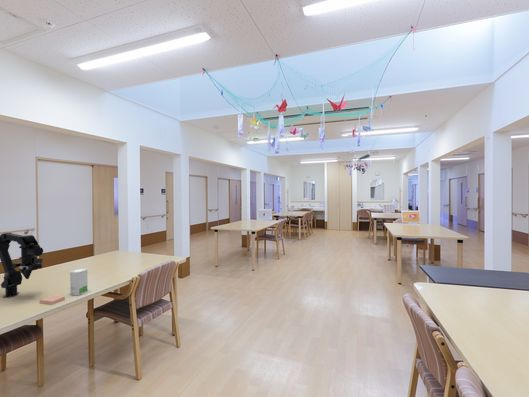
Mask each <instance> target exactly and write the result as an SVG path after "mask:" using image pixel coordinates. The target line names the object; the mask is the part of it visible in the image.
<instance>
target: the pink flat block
mask: <svg viewBox="0 0 529 397" xmlns="http://www.w3.org/2000/svg"><path fill="white" fill-rule="evenodd" d="M62 301H66V297H65V296H64V295H62V296H61V295H56V294H51V295H50V296H46V297H44V298H41V299H39V304H43V305H50V306H53V305H56V304H58V303H61V302H62Z"/></svg>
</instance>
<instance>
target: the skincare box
mask: <svg viewBox="0 0 529 397" xmlns="http://www.w3.org/2000/svg"><path fill="white" fill-rule="evenodd" d="M69 274H70V276H69V277H70V278H69V279H70V280H69V281H70V282H69V283H70V286H69V287H70V288H69V290H70V291H69V292H70V296H80V295H82V294H85V293H87V292H88V288H89V287H88V268H78V269H75V270H72V271H70V272H69Z"/></svg>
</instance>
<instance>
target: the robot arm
mask: <svg viewBox="0 0 529 397" xmlns="http://www.w3.org/2000/svg"><path fill="white" fill-rule="evenodd" d="M12 242H16V243H17V244H18V245H20V246H19V247H18V249H20V254H21V255H20V257H18V258H19V260H20V261H19V262H13V260H12V258H11V255H10V253H9V248H10V246H11V245H10V244H11V243H12ZM43 254H44V249H43V247H41V246H40V245H39V242H38V241H37V239H36V237H35V236H34V235H32V234H29V235H27V234H26V235H21V234H17V233H12V232H5V233H4V232H3V233H1V234H0V261H1V265H2V267H3V271H4V273H5V274H4V276H3V281H2V282H1V283H0V288H1V289H5V290H4V291H5V292H4V293H5V294H4V296H3V298H5V299H6V298H9V297H10V298H11V297H17V296H18V295H19V294H20V292H19V291H18V286H19V285H22V281H23V277H24V279H25V280H29V279H30V277H31V275H32V272H33V271H35V270H40V269H42V268H43V261H44V258H39V257H40V256H42V255H43ZM17 268H18V270H16V269H17Z"/></svg>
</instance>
